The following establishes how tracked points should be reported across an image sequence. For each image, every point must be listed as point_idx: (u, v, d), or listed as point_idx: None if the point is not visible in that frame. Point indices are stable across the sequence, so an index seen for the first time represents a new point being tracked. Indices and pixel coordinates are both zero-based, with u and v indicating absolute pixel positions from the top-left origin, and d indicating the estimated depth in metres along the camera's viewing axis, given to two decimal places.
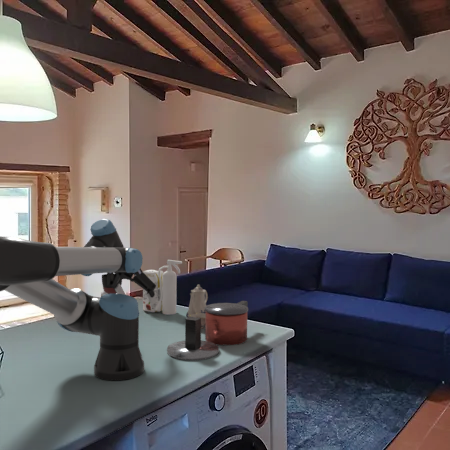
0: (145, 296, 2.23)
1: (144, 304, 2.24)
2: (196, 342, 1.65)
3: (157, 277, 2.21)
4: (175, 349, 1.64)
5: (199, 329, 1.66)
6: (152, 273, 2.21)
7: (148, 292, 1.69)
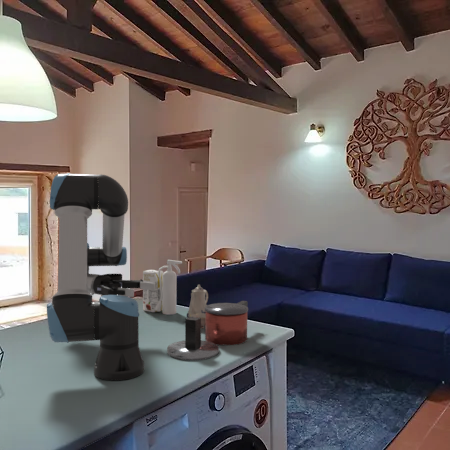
0: (145, 296, 2.23)
1: (144, 304, 2.24)
2: (196, 342, 1.65)
3: (157, 277, 2.21)
4: (175, 349, 1.64)
5: (199, 329, 1.66)
6: (152, 273, 2.21)
7: None
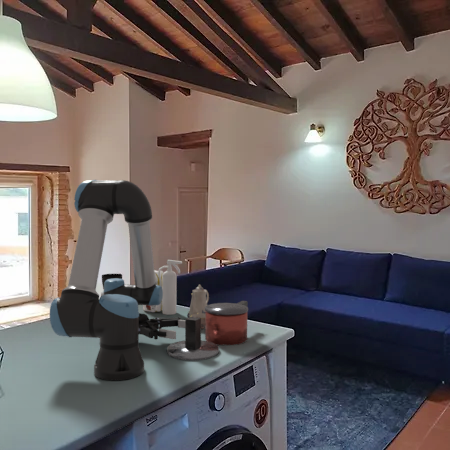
0: None
1: None
2: (196, 342, 1.65)
3: (157, 277, 2.21)
4: (175, 349, 1.64)
5: (199, 329, 1.66)
6: None
7: (179, 317, 1.79)
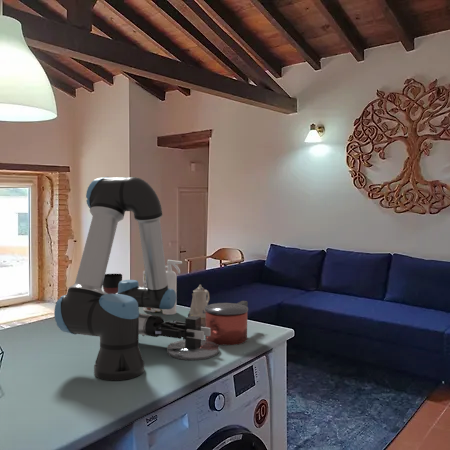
0: None
1: None
2: (196, 341, 1.65)
3: None
4: (175, 349, 1.64)
5: (199, 328, 1.66)
6: None
7: None
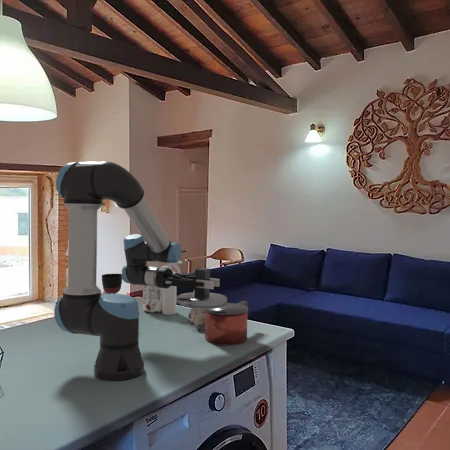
0: (145, 296, 2.23)
1: (144, 304, 2.24)
2: (205, 291, 1.69)
3: None
4: (184, 298, 1.68)
5: (208, 279, 1.70)
6: None
7: None
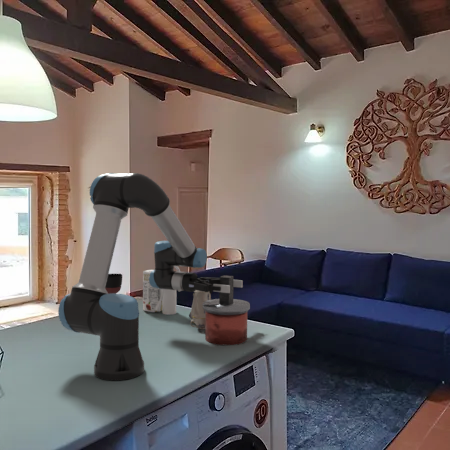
0: (145, 296, 2.23)
1: (144, 304, 2.24)
2: (230, 297, 1.79)
3: None
4: (210, 304, 1.79)
5: (232, 286, 1.81)
6: None
7: None
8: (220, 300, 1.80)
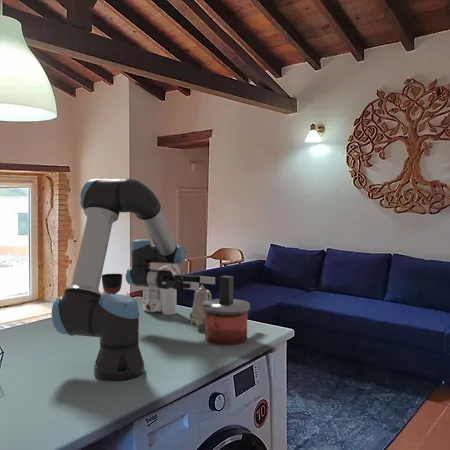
0: (145, 296, 2.23)
1: (144, 304, 2.24)
2: (230, 297, 1.79)
3: None
4: (210, 304, 1.79)
5: (232, 286, 1.81)
6: None
7: (200, 274, 1.95)
8: (220, 300, 1.80)
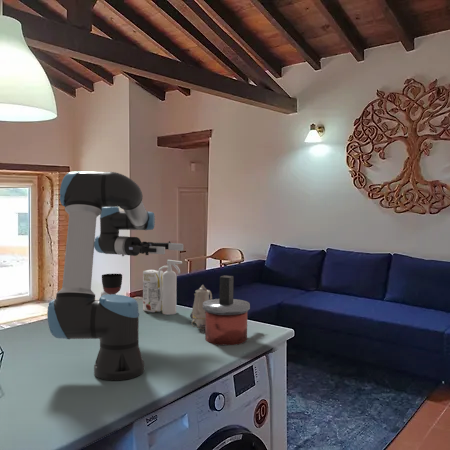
0: (145, 296, 2.23)
1: (144, 304, 2.24)
2: (230, 297, 1.79)
3: (157, 277, 2.21)
4: (210, 304, 1.79)
5: (232, 286, 1.81)
6: (152, 273, 2.21)
7: (169, 241, 1.93)
8: (220, 300, 1.80)
